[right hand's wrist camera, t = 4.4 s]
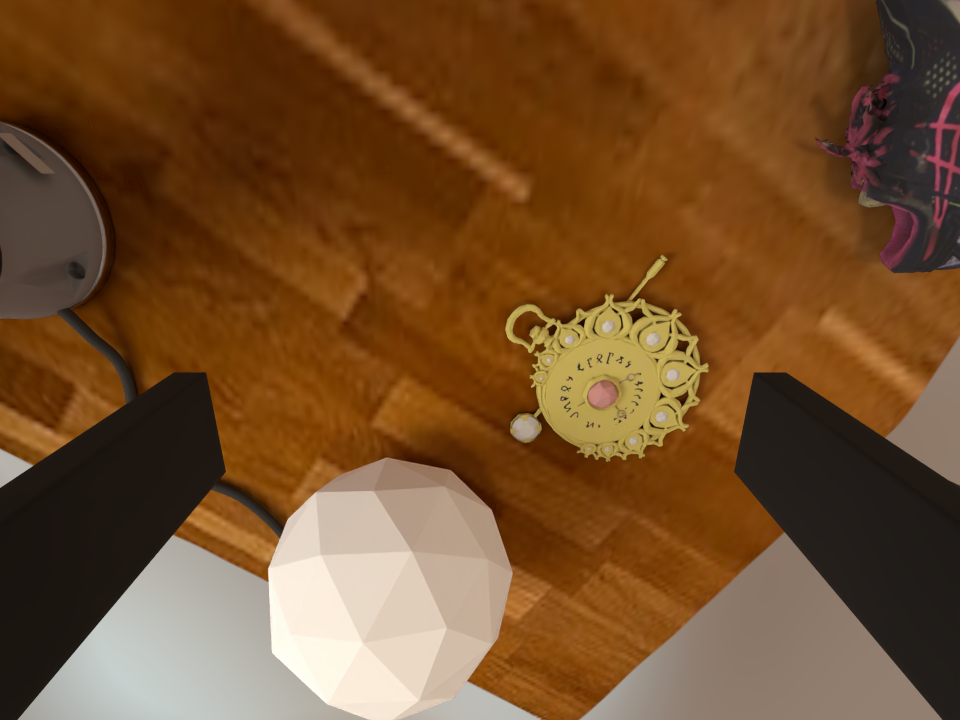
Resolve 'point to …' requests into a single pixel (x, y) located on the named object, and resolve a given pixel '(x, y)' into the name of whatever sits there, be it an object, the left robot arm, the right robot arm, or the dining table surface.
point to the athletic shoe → (912, 135)
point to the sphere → (388, 589)
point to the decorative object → (610, 376)
